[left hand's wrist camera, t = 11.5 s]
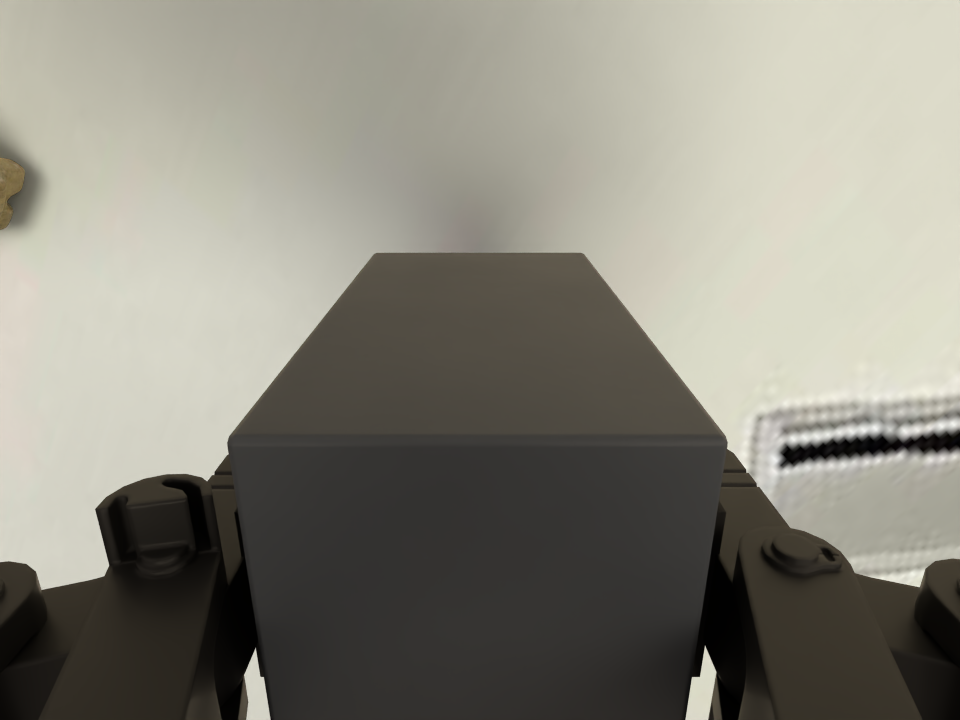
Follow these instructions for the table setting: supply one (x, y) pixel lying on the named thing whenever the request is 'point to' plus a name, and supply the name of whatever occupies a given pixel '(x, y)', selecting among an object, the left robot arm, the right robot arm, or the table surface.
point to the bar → (477, 501)
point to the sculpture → (9, 187)
